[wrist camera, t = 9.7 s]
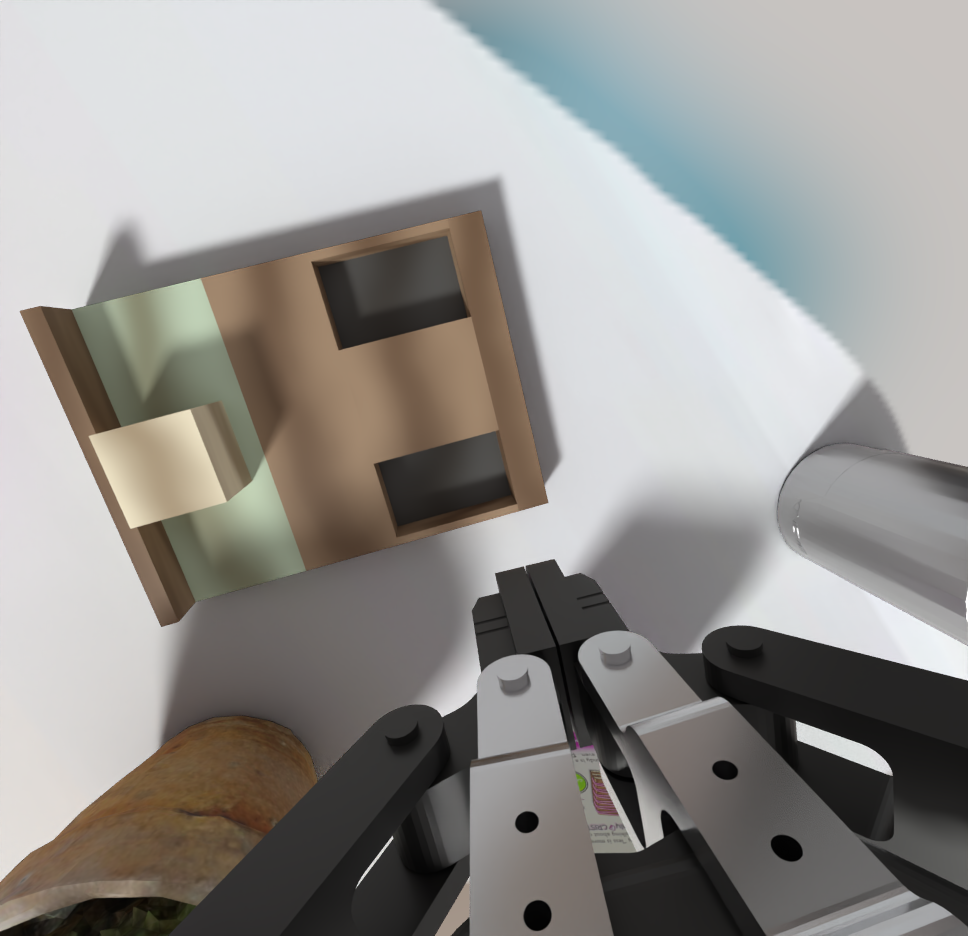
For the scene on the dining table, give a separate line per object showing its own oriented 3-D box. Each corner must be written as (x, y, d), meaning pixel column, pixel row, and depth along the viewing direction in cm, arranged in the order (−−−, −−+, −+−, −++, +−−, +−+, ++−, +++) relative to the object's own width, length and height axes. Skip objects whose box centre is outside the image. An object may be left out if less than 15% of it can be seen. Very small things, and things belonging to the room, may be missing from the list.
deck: (476, 220, 33) (486, 198, 28) (539, 492, 37) (558, 514, 32) (80, 316, 31) (19, 311, 26) (195, 588, 36) (161, 626, 31)
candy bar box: (483, 742, 41) (526, 991, 25) (492, 685, 40) (542, 906, 24) (621, 746, 43) (742, 981, 27) (632, 690, 42) (766, 901, 26)
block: (221, 400, 31) (190, 409, 27) (252, 480, 32) (227, 502, 28) (134, 423, 31) (88, 436, 26) (169, 504, 32) (130, 529, 27)
